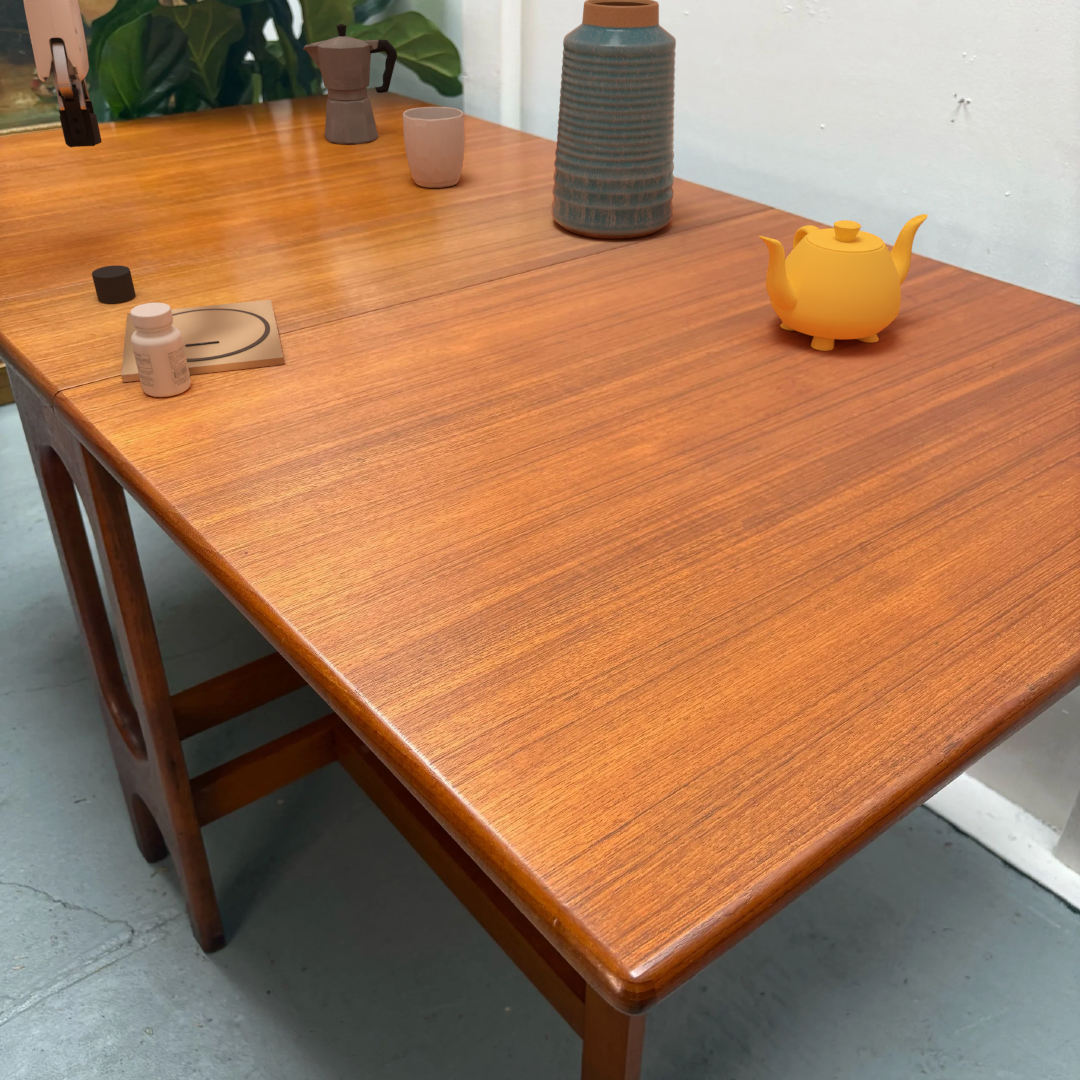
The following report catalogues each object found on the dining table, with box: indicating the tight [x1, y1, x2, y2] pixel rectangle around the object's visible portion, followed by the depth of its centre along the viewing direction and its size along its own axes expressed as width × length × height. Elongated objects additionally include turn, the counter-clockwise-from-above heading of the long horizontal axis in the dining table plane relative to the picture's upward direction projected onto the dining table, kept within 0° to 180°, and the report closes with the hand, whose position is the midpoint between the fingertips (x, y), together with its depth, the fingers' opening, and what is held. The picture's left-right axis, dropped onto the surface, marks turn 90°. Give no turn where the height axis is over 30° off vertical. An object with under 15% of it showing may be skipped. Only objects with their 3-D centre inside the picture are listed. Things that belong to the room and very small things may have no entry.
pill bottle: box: [129, 302, 192, 398], centre depth 93 cm, size 4×4×8 cm
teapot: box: [758, 213, 929, 352], centre depth 105 cm, size 20×15×12 cm
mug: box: [402, 106, 466, 189], centre depth 153 cm, size 13×9×10 cm
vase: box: [550, 0, 677, 240], centre depth 131 cm, size 16×16×27 cm
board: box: [120, 299, 286, 383], centre depth 104 cm, size 15×16×1 cm
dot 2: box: [91, 264, 136, 305], centre depth 113 cm, size 4×4×3 cm
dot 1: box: [59, 113, 103, 146], centre depth 120 cm, size 4×4×3 cm
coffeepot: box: [303, 23, 398, 145], centre depth 173 cm, size 15×9×18 cm, turn 95°
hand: (83, 139), depth 120 cm, fingers closed on dot 1, 4 cm apart
